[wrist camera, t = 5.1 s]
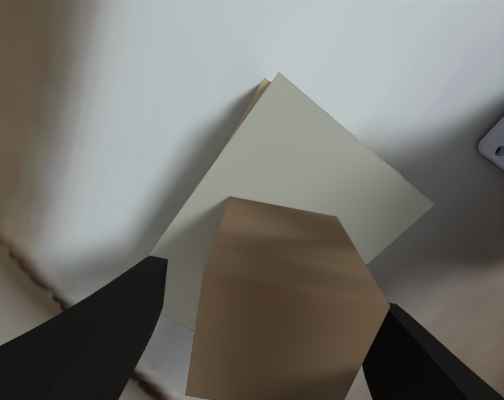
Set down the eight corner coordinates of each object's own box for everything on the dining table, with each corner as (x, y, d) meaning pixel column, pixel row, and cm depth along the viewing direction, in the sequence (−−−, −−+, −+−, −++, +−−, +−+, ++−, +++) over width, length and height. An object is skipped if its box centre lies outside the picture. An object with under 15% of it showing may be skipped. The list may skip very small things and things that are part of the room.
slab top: (403, 185, 13) (434, 204, 11) (255, 328, 17) (253, 365, 14) (275, 76, 11) (278, 72, 9) (144, 261, 15) (122, 291, 13)
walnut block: (336, 216, 11) (390, 305, 6) (308, 300, 13) (333, 420, 8) (229, 196, 11) (202, 271, 6) (215, 283, 12) (185, 395, 8)
